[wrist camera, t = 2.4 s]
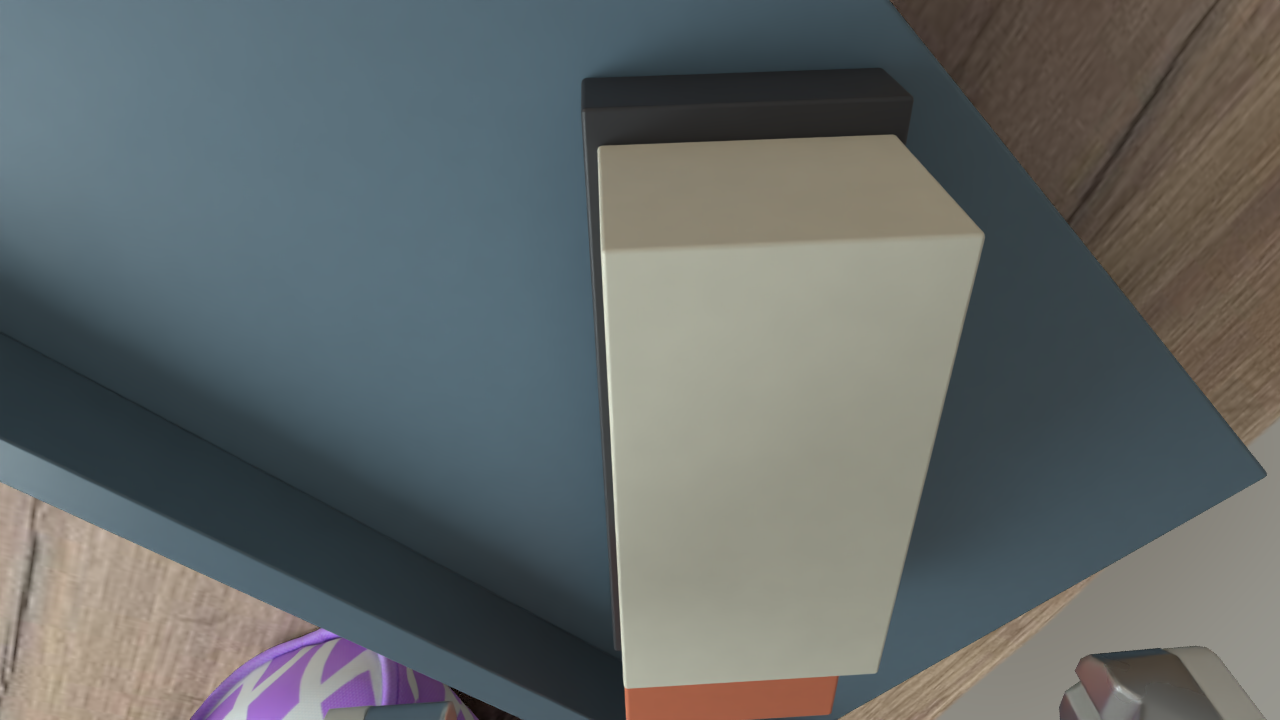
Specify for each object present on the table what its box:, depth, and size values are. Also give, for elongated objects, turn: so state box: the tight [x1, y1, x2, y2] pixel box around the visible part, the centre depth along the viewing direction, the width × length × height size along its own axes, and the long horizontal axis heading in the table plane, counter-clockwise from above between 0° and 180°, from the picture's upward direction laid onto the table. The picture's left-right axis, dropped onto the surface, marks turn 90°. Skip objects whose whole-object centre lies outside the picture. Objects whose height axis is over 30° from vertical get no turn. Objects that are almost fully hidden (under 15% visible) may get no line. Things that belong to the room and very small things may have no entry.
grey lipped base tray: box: [0, 0, 1267, 720], centre depth 17 cm, size 15×24×8 cm, turn 46°
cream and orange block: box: [581, 68, 985, 720], centre depth 14 cm, size 12×5×5 cm, turn 1°
